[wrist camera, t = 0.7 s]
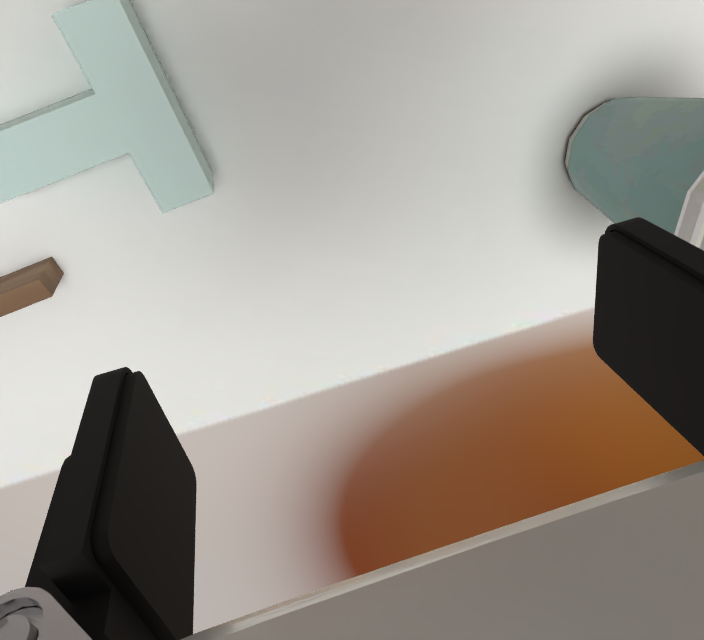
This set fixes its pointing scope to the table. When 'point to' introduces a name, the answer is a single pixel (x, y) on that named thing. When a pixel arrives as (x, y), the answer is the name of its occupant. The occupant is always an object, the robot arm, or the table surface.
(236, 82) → the table surface
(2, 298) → the corral
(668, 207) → the disposable coffee cup
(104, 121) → the tee block
